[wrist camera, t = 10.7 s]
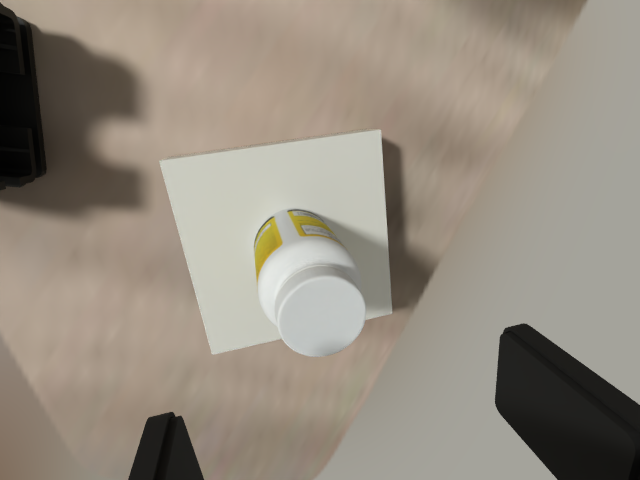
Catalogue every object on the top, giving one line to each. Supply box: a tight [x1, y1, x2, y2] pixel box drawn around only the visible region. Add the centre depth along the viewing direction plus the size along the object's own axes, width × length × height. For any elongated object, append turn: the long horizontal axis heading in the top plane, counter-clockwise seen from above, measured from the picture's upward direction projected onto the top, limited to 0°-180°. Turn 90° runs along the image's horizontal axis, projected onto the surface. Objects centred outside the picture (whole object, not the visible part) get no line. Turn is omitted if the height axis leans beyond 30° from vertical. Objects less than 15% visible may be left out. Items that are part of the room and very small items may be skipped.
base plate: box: [159, 129, 392, 355], centre depth 26 cm, size 14×14×3 cm
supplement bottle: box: [254, 208, 366, 357], centre depth 20 cm, size 5×5×10 cm
